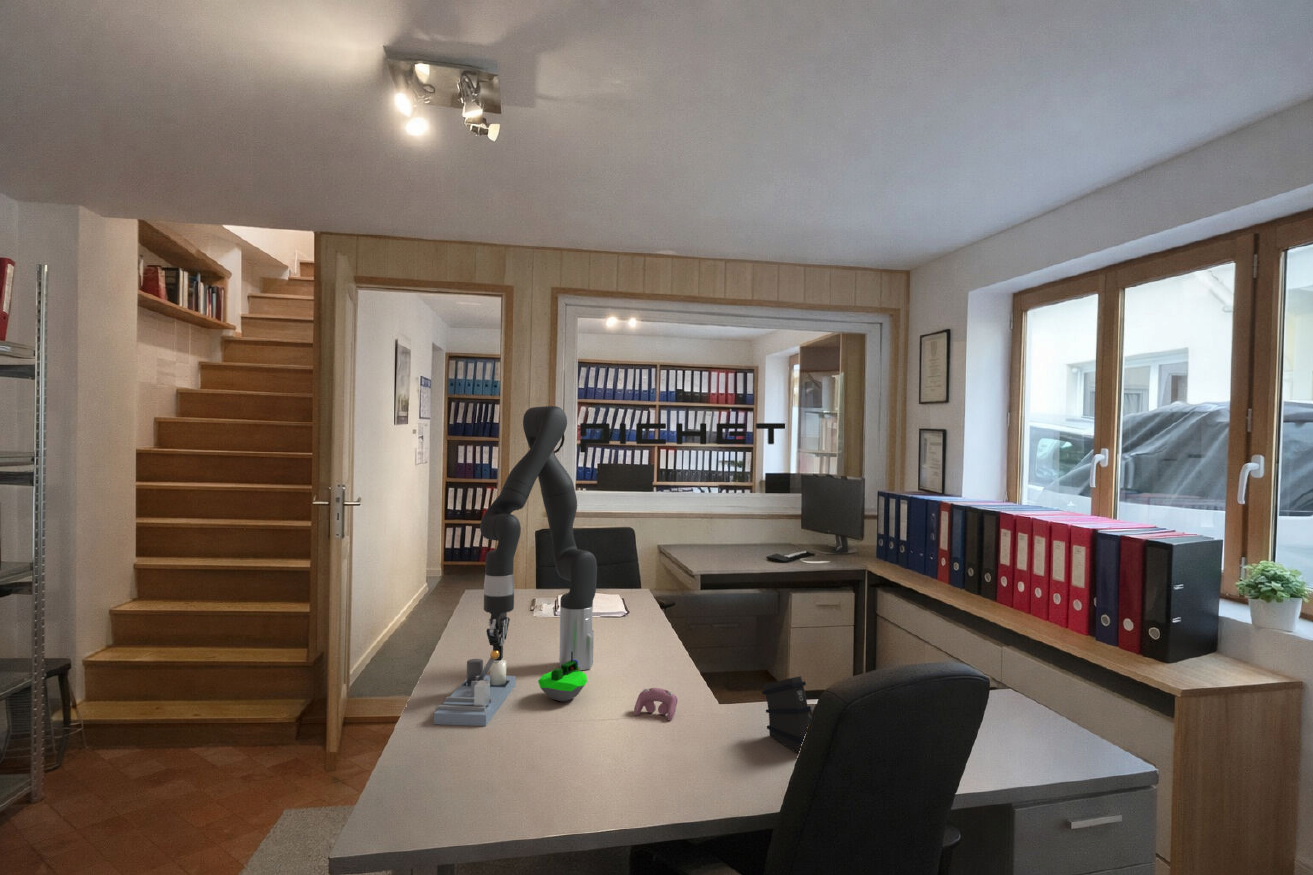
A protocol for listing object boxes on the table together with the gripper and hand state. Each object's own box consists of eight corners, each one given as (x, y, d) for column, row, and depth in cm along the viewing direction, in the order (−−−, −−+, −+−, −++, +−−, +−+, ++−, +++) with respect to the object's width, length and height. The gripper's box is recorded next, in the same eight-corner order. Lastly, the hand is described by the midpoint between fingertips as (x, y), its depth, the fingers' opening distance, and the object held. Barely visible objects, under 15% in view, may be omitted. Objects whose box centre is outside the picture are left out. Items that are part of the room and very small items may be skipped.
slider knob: (489, 701, 167) (489, 680, 167) (484, 708, 163) (484, 686, 163) (479, 701, 167) (479, 680, 167) (474, 707, 163) (474, 686, 163)
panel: (515, 685, 186) (515, 662, 186) (485, 726, 160) (486, 699, 160) (470, 683, 186) (470, 661, 186) (433, 724, 160) (434, 697, 160)
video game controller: (676, 722, 167) (680, 691, 170) (671, 720, 163) (675, 689, 166) (637, 716, 170) (642, 686, 173) (631, 714, 166) (636, 683, 169)
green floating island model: (556, 688, 185) (556, 645, 185) (595, 695, 179) (595, 651, 180) (529, 703, 174) (529, 658, 174) (569, 711, 169) (569, 664, 169)
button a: (507, 679, 182) (508, 659, 182) (503, 685, 178) (503, 664, 178) (492, 679, 182) (492, 659, 182) (487, 684, 178) (488, 664, 178)
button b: (484, 679, 182) (485, 658, 182) (480, 684, 178) (480, 663, 178) (469, 678, 182) (469, 658, 182) (464, 683, 178) (464, 663, 178)
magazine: (808, 754, 144) (789, 678, 150) (772, 757, 155) (756, 686, 160) (823, 750, 146) (803, 675, 152) (786, 754, 157) (769, 684, 162)
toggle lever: (481, 686, 174) (502, 651, 174) (478, 689, 172) (499, 654, 171) (474, 681, 174) (494, 646, 174) (470, 685, 172) (491, 649, 171)
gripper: (506, 598, 173) (505, 668, 173) (520, 586, 186) (518, 652, 186) (476, 597, 173) (475, 667, 173) (492, 585, 186) (490, 651, 186)
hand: (497, 659), depth 180 cm, fingers closed
